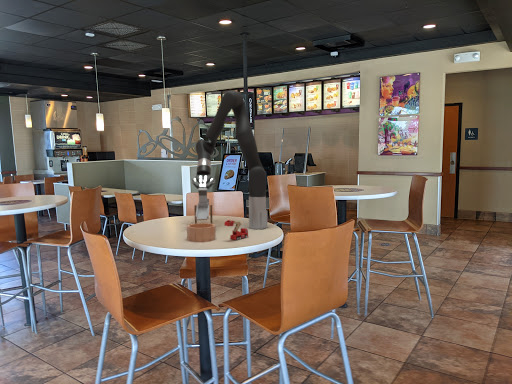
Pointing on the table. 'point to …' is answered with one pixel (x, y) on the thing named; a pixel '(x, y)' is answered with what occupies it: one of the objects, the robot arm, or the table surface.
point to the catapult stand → (210, 214)
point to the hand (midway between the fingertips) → (202, 194)
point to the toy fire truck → (235, 232)
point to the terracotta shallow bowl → (201, 232)
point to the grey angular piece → (202, 205)
